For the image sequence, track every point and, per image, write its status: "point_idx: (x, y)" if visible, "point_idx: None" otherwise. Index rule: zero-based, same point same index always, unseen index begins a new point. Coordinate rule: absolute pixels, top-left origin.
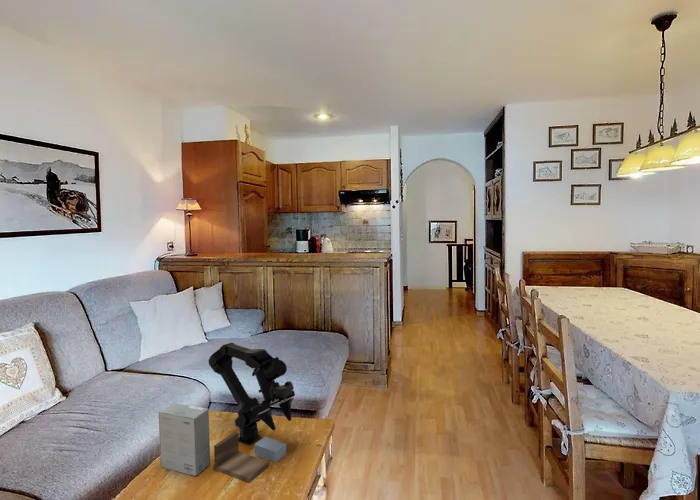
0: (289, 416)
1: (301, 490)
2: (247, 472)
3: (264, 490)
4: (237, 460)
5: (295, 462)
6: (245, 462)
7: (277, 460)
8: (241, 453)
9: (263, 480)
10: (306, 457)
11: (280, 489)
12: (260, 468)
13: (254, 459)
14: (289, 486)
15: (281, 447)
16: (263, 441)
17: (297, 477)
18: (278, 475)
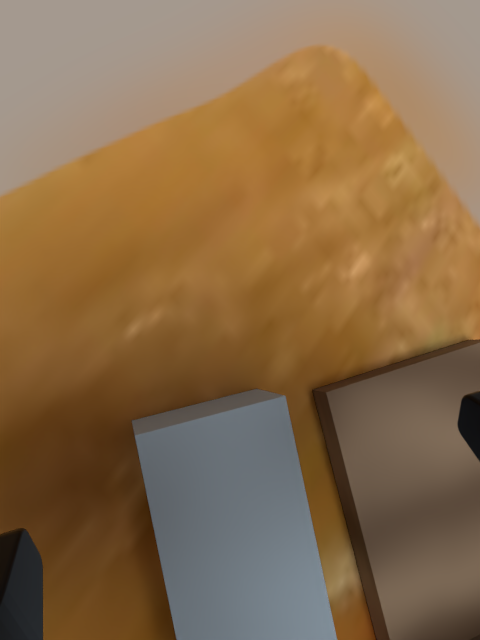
0: (7, 601)
1: (317, 52)
2: None
3: (444, 222)
4: (455, 567)
5: (161, 275)
6: (431, 505)
7: (238, 393)
8: (398, 634)
9: (407, 294)
10: (56, 255)
11: (387, 157)
12: (400, 370)
13: (376, 492)
14: (341, 132)
15: (206, 417)
16: (257, 631)
17: (259, 148)
18: (325, 260)
